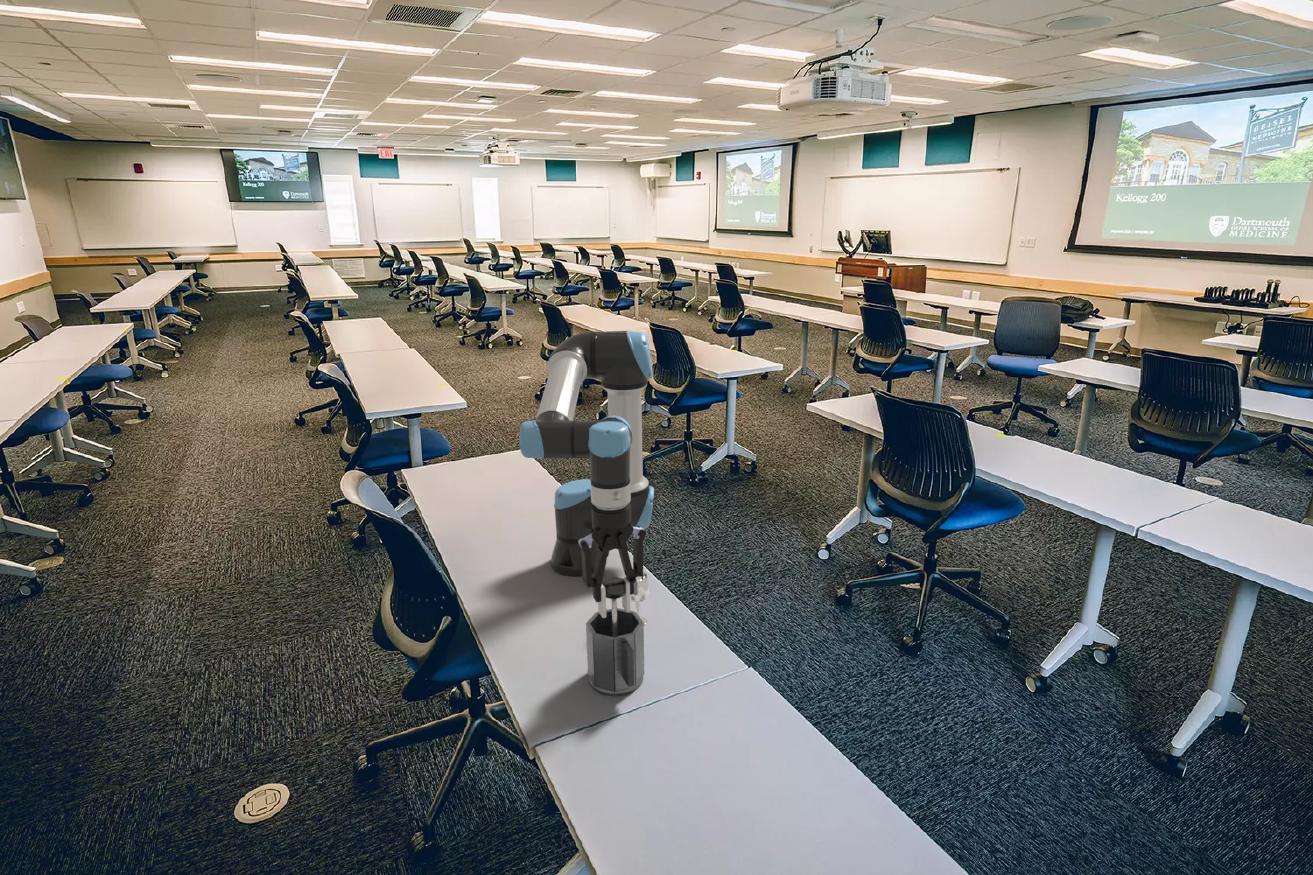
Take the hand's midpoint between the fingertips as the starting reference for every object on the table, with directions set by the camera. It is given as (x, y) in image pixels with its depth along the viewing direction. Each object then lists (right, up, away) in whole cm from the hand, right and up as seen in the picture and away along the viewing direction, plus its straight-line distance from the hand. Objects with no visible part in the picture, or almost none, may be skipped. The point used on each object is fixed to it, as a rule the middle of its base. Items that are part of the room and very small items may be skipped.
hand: (614, 611), depth 137 cm
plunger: (0, -13, +4) cm, 14 cm away
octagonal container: (+1, -15, +3) cm, 16 cm away
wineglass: (+4, -9, +25) cm, 27 cm away
